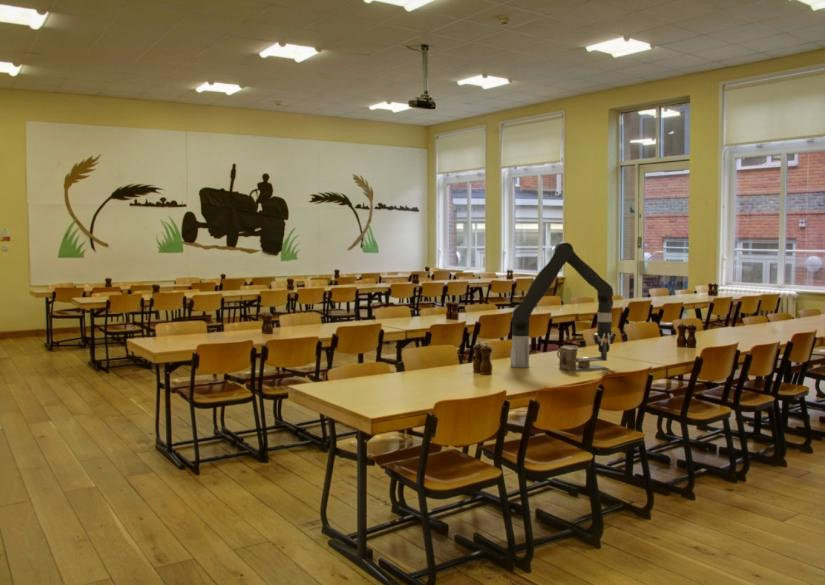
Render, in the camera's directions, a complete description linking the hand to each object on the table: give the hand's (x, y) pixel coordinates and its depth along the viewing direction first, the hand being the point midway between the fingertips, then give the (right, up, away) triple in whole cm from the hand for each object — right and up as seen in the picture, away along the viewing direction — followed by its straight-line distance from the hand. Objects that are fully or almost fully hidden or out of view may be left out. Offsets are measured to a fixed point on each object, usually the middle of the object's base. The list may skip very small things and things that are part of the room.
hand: (603, 351), depth 395 cm
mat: (-12, -9, -3) cm, 15 cm away
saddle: (-12, -9, -3) cm, 15 cm away
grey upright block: (-21, -9, -7) cm, 24 cm away
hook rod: (-8, -5, -2) cm, 10 cm away
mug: (-18, -8, +14) cm, 24 cm away
